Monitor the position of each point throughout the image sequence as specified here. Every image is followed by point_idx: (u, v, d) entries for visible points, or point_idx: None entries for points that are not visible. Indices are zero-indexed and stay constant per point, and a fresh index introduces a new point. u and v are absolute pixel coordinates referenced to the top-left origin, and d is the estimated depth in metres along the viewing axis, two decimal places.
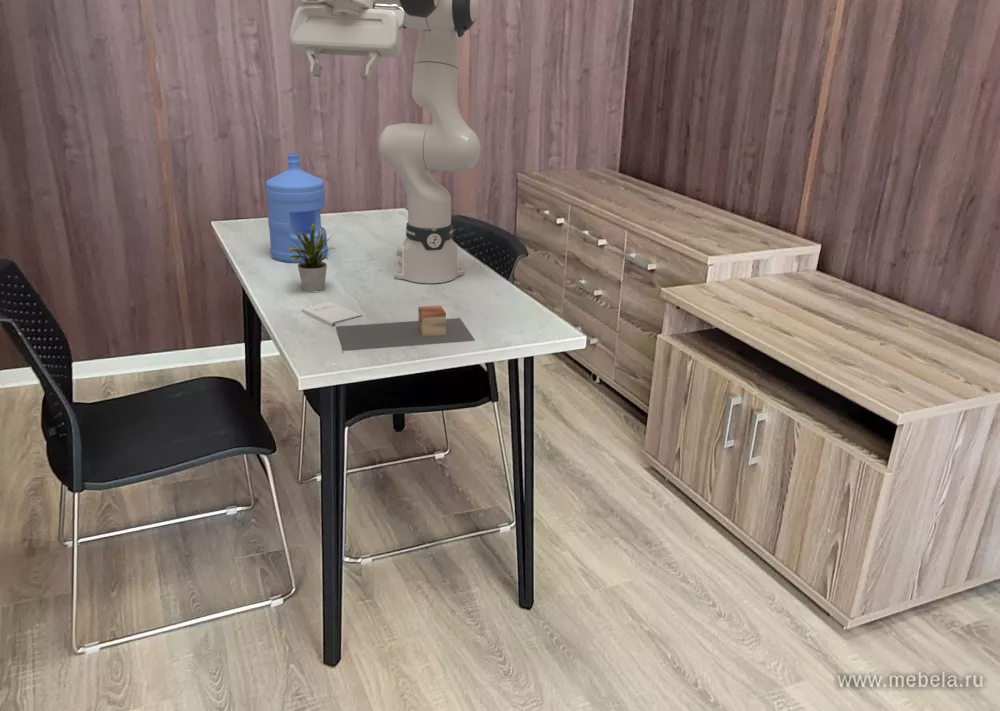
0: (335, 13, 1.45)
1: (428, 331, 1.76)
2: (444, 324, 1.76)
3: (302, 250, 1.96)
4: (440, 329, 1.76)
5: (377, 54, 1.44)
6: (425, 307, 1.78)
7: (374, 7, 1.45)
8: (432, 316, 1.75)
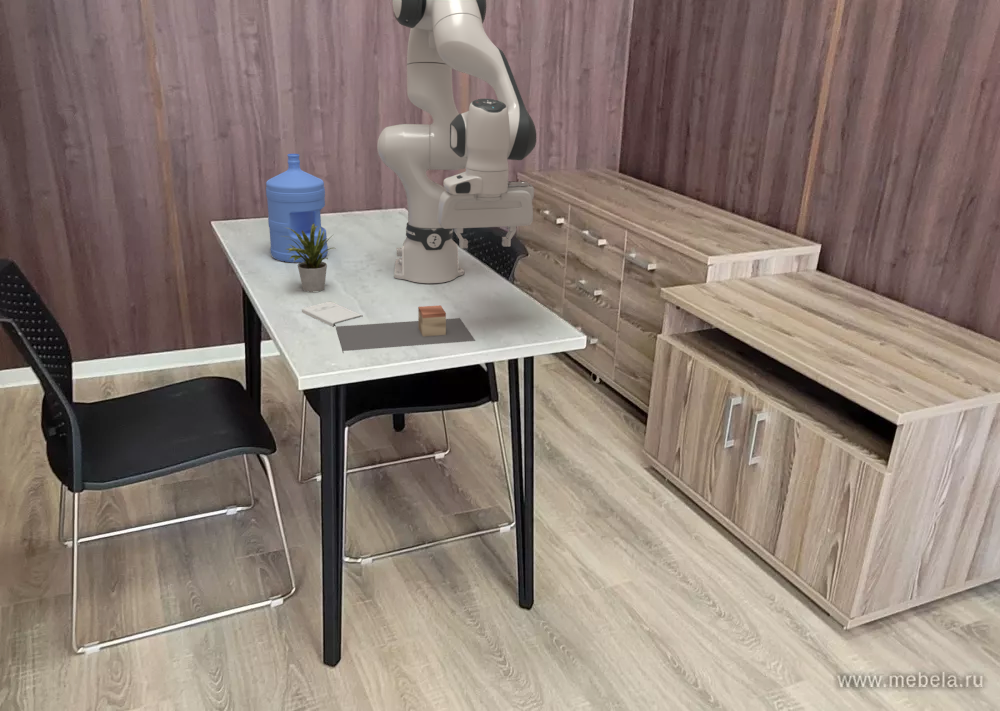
0: (481, 200, 1.68)
1: (428, 331, 1.76)
2: (444, 324, 1.76)
3: (302, 250, 1.96)
4: (440, 329, 1.76)
5: (515, 227, 1.74)
6: (425, 307, 1.78)
7: (508, 186, 1.70)
8: (432, 316, 1.75)
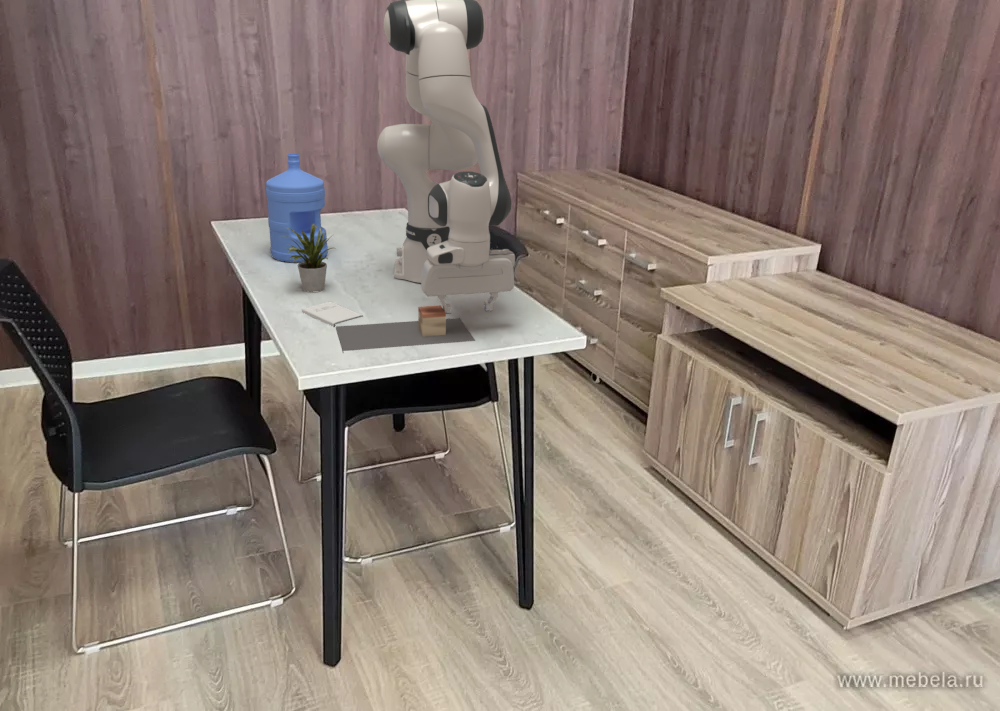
0: (464, 269, 1.73)
1: (428, 331, 1.76)
2: (444, 324, 1.76)
3: (302, 250, 1.96)
4: (440, 329, 1.76)
5: None
6: (425, 307, 1.78)
7: (490, 254, 1.75)
8: (432, 316, 1.75)
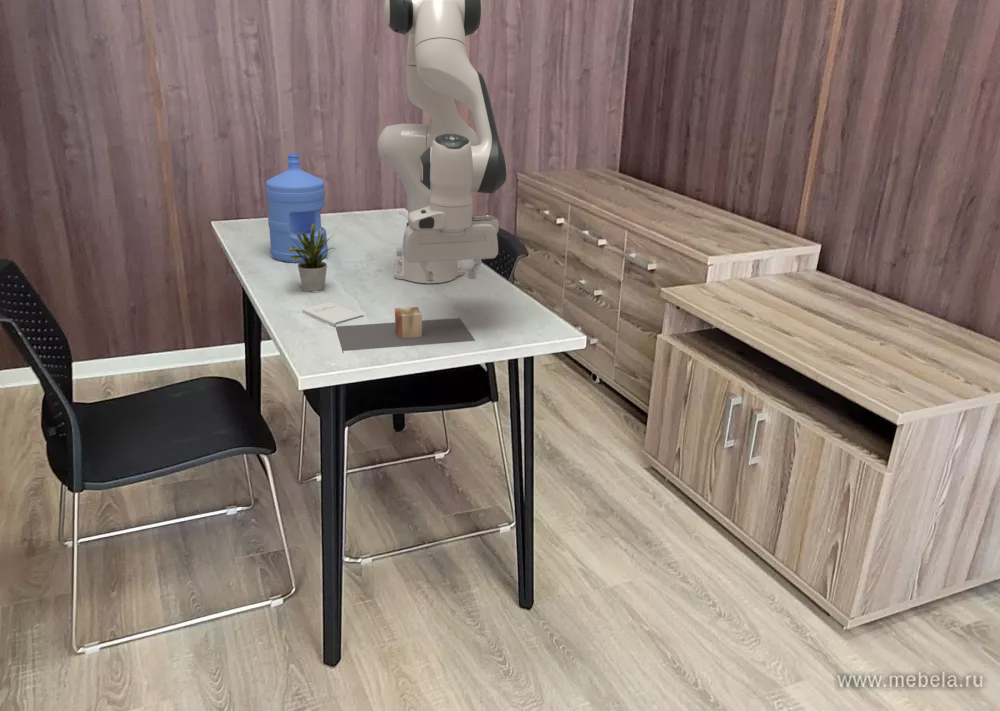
0: (445, 235, 1.69)
1: (417, 331, 1.75)
2: (410, 316, 1.73)
3: (302, 250, 1.96)
4: (415, 320, 1.74)
5: None
6: (395, 324, 1.78)
7: (473, 220, 1.71)
8: (401, 329, 1.74)
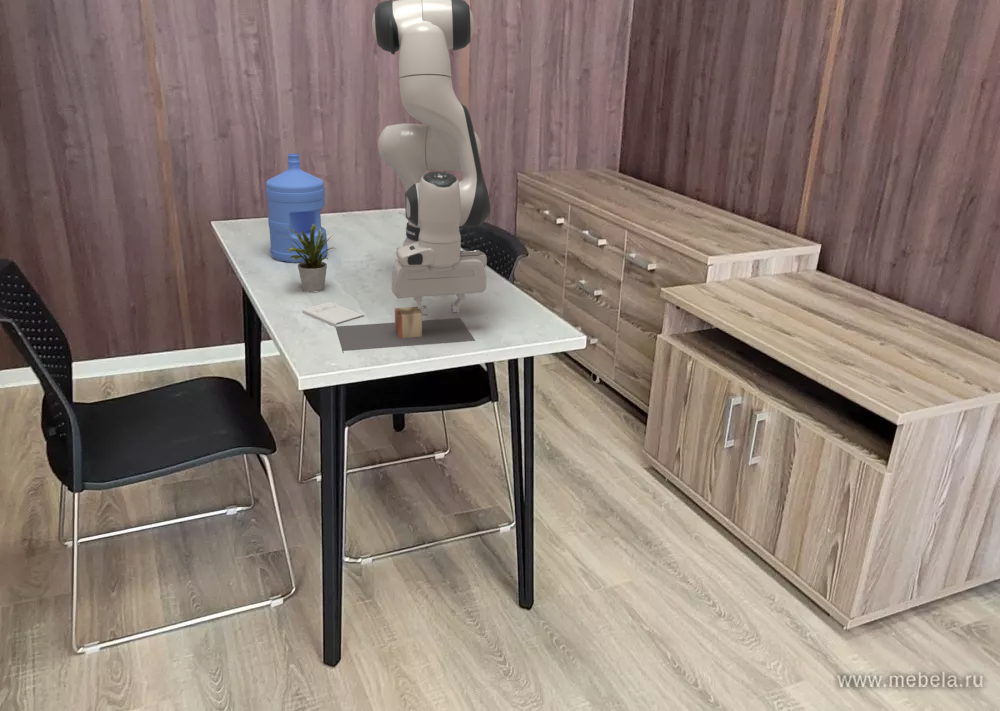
0: (434, 270, 1.71)
1: (417, 331, 1.75)
2: (410, 316, 1.73)
3: (302, 250, 1.96)
4: (415, 320, 1.74)
5: None
6: (395, 324, 1.78)
7: (461, 255, 1.73)
8: (401, 329, 1.74)
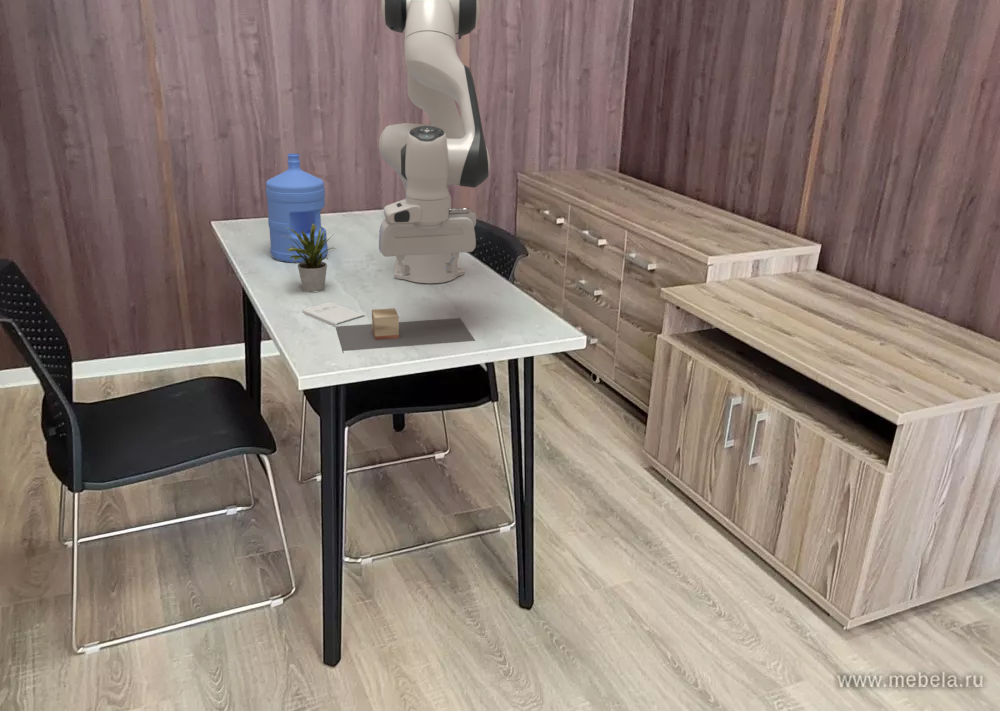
0: (422, 228, 1.67)
1: (392, 321, 1.73)
2: (376, 328, 1.72)
3: (302, 250, 1.96)
4: (380, 323, 1.72)
5: (458, 253, 1.73)
6: None
7: (449, 213, 1.69)
8: (389, 336, 1.74)
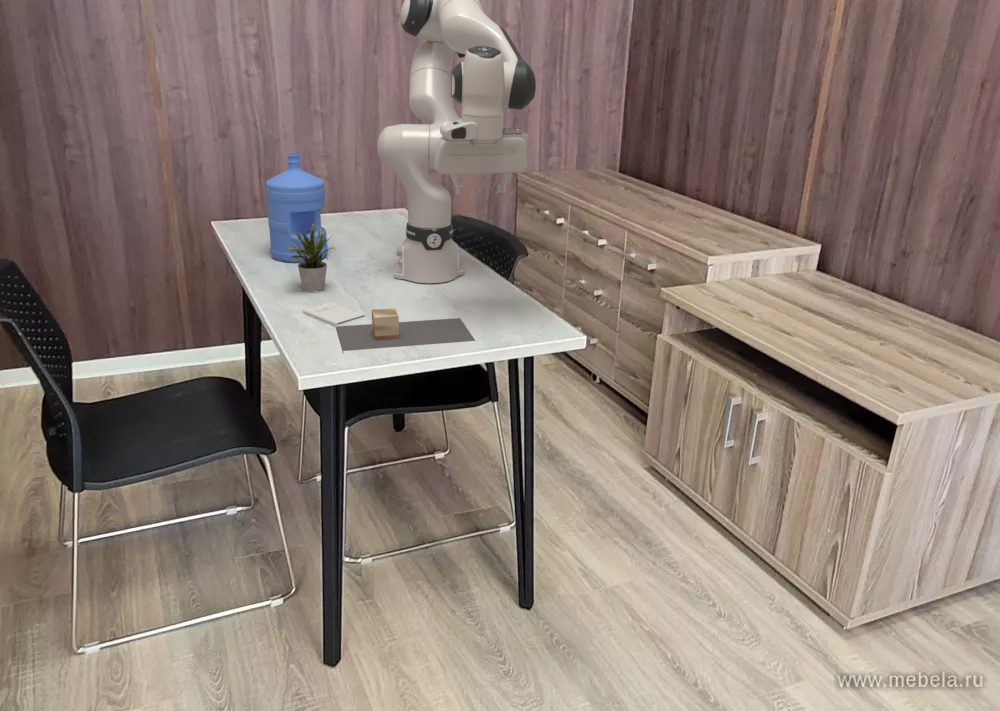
0: (477, 146, 1.72)
1: (392, 321, 1.73)
2: (376, 328, 1.72)
3: (302, 250, 1.96)
4: (380, 323, 1.72)
5: (510, 174, 1.79)
6: None
7: (503, 133, 1.75)
8: (389, 336, 1.74)
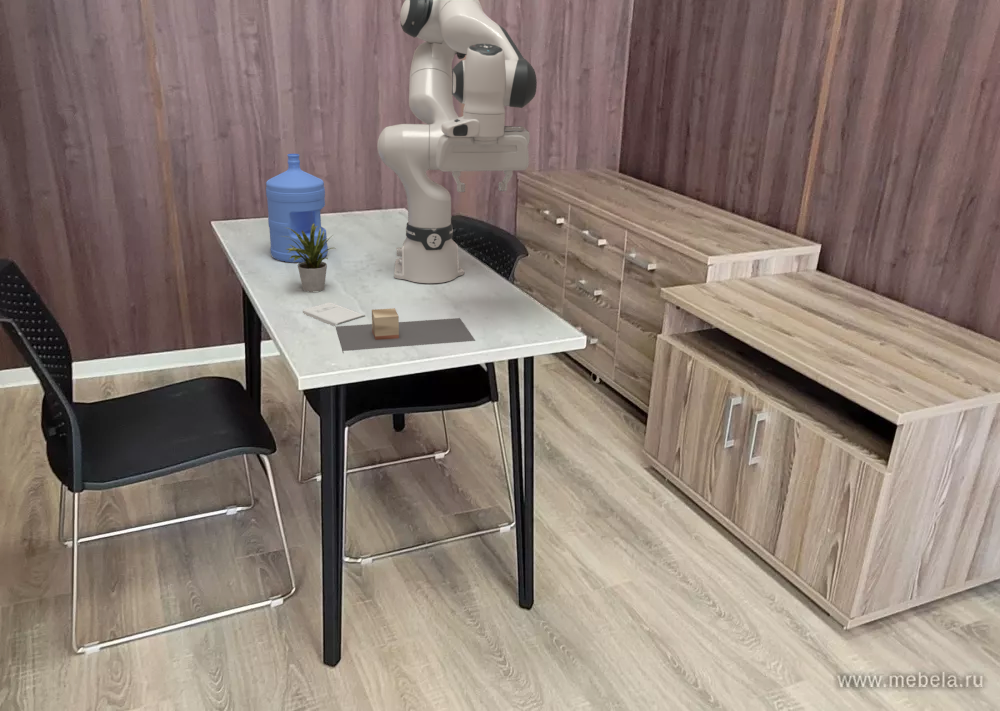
0: (478, 144, 1.72)
1: (392, 321, 1.73)
2: (376, 328, 1.72)
3: (302, 250, 1.96)
4: (380, 323, 1.72)
5: None
6: None
7: (504, 130, 1.75)
8: (389, 336, 1.74)
